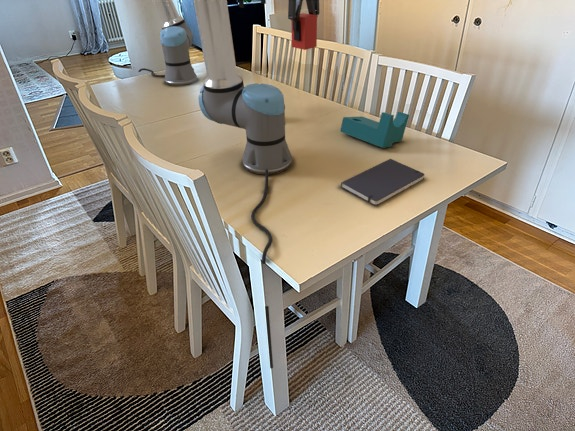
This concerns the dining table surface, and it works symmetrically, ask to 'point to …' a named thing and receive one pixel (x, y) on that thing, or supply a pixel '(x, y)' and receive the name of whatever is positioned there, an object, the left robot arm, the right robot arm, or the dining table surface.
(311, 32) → the block
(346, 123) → the teal l-shaped bracket
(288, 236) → the dining table surface
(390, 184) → the notebook
